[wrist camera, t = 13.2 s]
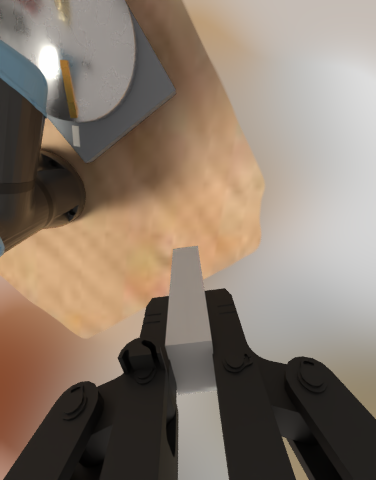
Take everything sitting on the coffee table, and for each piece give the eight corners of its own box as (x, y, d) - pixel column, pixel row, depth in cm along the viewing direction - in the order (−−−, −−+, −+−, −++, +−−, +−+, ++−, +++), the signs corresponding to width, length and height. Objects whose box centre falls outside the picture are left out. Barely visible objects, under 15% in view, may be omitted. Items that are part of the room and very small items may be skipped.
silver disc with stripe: (114, 144, 36) (88, 145, 26) (-11, 83, 32) (-103, 56, 22) (157, 1, 29) (143, -79, 18) (0, -103, 24) (-133, -282, 14)
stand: (176, 93, 36) (175, 89, 33) (92, 161, 40) (84, 163, 37) (58, -113, 26) (42, -146, 23) (-35, 6, 31) (-59, -8, 28)
